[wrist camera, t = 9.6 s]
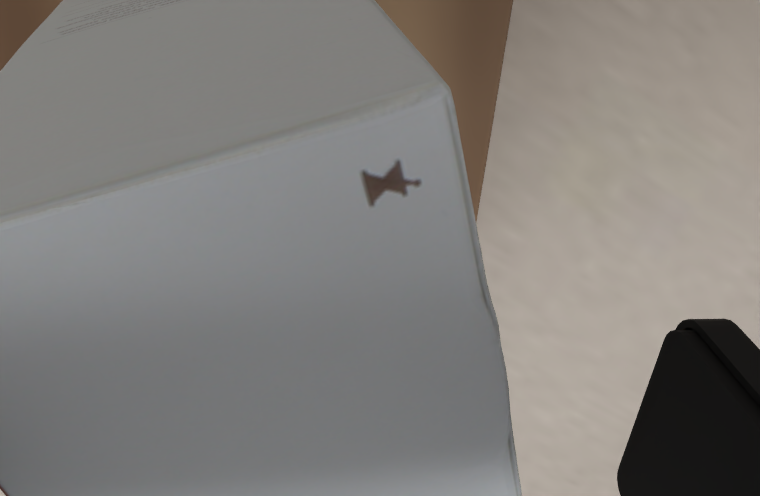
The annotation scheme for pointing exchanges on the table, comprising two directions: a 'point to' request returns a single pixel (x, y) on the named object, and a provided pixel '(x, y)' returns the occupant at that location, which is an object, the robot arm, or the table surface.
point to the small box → (241, 260)
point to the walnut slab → (423, 29)
